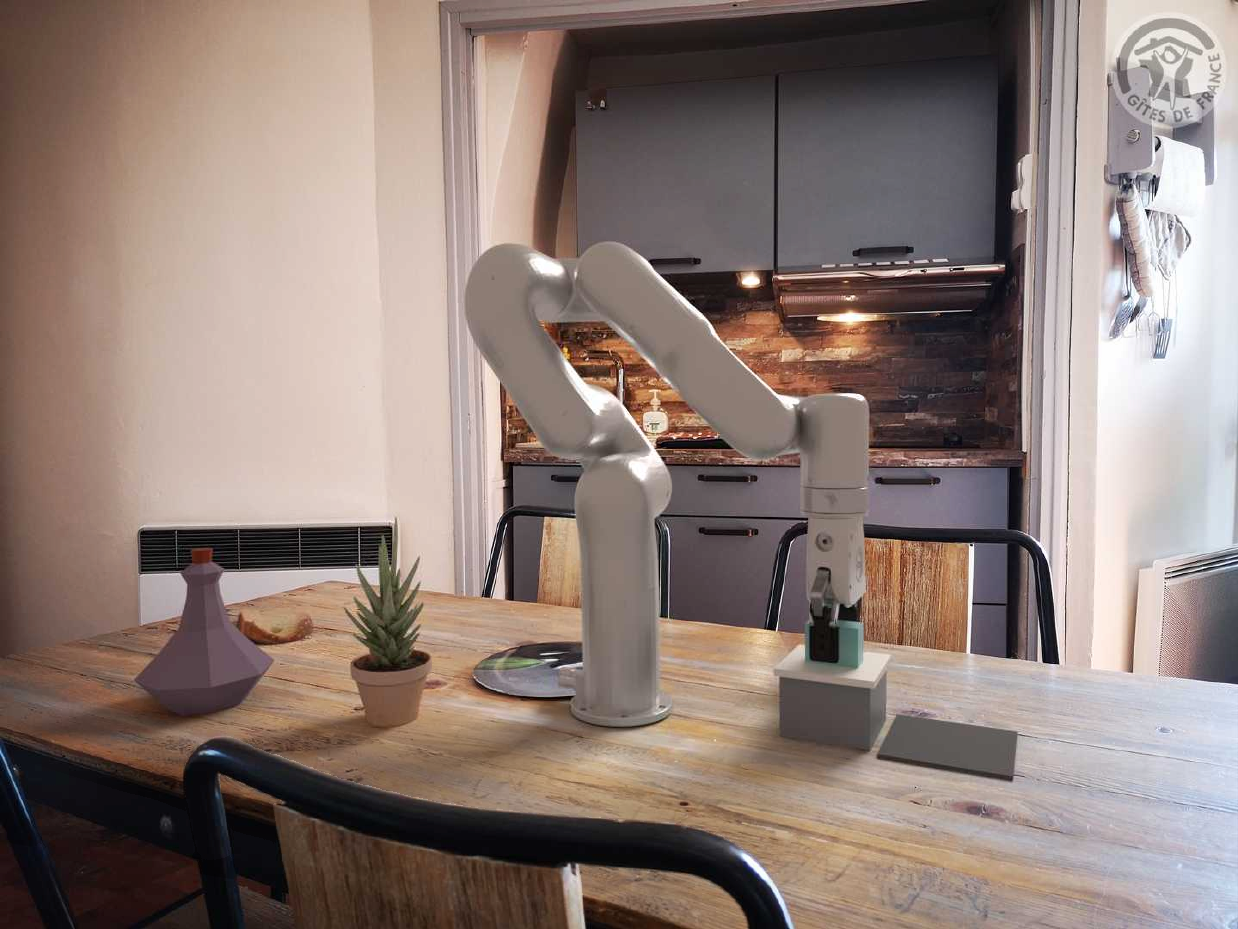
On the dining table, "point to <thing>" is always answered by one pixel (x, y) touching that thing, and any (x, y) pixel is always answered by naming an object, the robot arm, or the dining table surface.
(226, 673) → the flask
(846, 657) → the lid
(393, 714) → the potted plant
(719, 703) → the dining table surface
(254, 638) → the slice of bread
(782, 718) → the storage box
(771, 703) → the dining table surface
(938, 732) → the mat
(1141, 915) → the dining table surface
